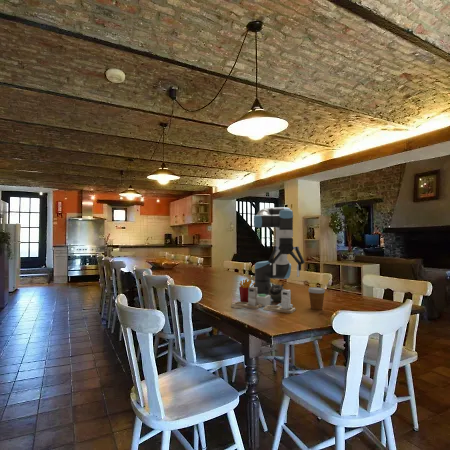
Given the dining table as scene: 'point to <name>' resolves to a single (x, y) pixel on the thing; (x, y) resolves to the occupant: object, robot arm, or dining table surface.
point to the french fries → (244, 290)
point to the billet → (286, 299)
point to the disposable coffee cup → (316, 297)
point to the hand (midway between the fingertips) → (286, 275)
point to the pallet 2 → (278, 309)
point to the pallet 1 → (249, 300)
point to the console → (264, 300)
